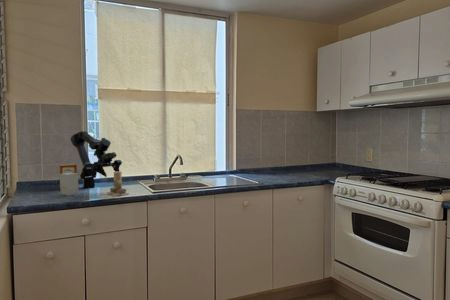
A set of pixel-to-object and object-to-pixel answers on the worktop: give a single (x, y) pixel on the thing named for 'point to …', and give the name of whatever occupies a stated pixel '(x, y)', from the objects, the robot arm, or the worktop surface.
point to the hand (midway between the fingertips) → (112, 175)
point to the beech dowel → (117, 180)
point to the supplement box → (69, 183)
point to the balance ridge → (117, 192)
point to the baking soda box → (68, 168)
